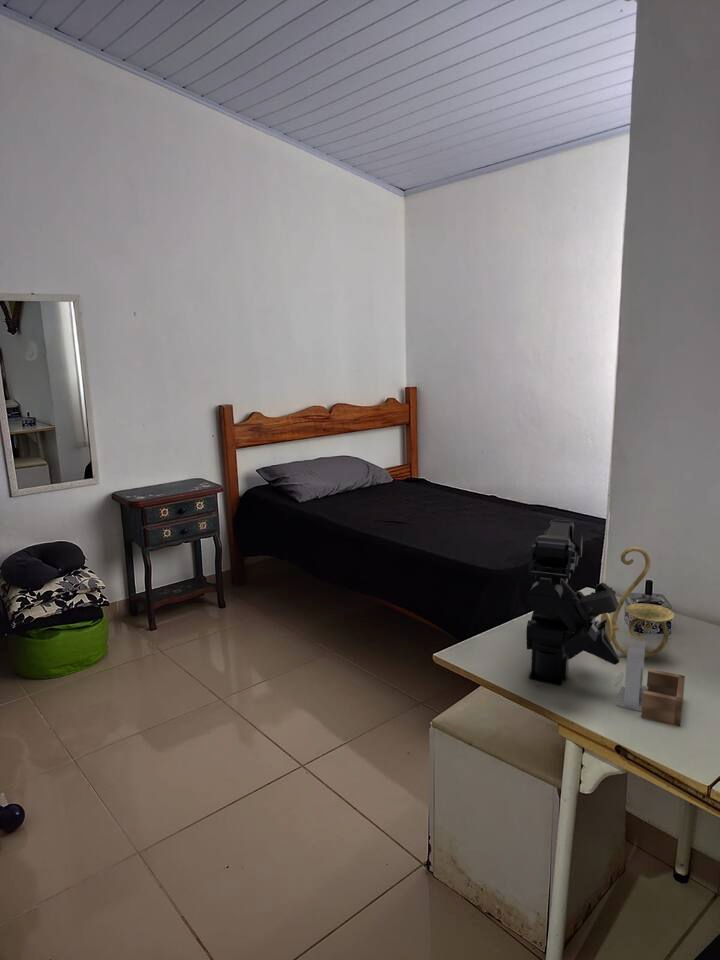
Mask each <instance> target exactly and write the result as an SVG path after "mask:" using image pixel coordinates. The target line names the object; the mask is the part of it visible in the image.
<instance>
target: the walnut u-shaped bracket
mask: <svg viewBox="0 0 720 960" xmlns="http://www.w3.org/2000/svg"><path fill="white" fill-rule="evenodd" d="M685 679H686V676H685V675H682V674H677V673H671V672H666V671H662V670H657V669H652V668H648V670H647V681H646V686H647V687H648V691H645V690H644V691H643V701H642V711H641V716H640V717H641V719H645V720H649V721H653V722H657V723H661V724H666V725H669V726H670V725H671V726H675V727H679V728H680V727H681V722H682V721H681V720H682V713H683V712H682V710H683V702H684V692H685Z"/></svg>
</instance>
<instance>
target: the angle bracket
mask: <svg viewBox="0 0 720 960" xmlns="http://www.w3.org/2000/svg"><path fill="white" fill-rule="evenodd" d="M627 651H628V652H627V655H626V665H625V681H624V686H620V689H619V692H618V696H617V699H616V707H621V708H624V709H625V708H626V709H629V710H632V711H638V712H642V701H643V691H644V690H645V691H648V687H647V685H643V684H644V683H643V680H644V666H645V658H644V655H645V653H646V641H640V640H635V639H631V640H630V642H629V646H628V648H627Z"/></svg>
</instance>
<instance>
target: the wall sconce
mask: <svg viewBox="0 0 720 960" xmlns="http://www.w3.org/2000/svg"><path fill="white" fill-rule="evenodd" d="M631 552H637V553H640V554H642V556H643V557H644V560H645V563H644V564H645V565H644V568H643V570H642V571H641V573H640V574H639V575H638V576H637V578H636V579H635V580H634V581H633V582H632V583H631V584H630V586H629V587H628V588H627V589H626V591H625V592H624V593H623V595H622V596H621V598H620V599H619V600H618V603H619V605H618V606H617V610H616V611H615V612H613V614H612V617H611V615H610V613H606V614H605V613H604V614H600V615H601V616H600V621H599V622H600V623H601V622H603V621H604V620H607V624H606V634H607V636H608V638H609V640H610V642H611V643H612V644H613V646H614V648H615V649H616V650H617V651H618V652H619V653H621V654H622V655H625V656H627V652H628V650H626V649H624V648H623V647H622V646H621V645H620V644H619V643H618V641H617V636H616V631H619V629H620V626H619V625H618V624H617V620H618V617H619V614H620V612H621V609H622V608H623V605H624V603H625V601H626V600H627V599H628V597H629V596H630V595H631V593H632V592H633V591H634V589H636V587H638V585H639V584H640V583H641V582H642V580H643V579H644V578H645V577H646V575H647V574H648V573H649V570H650V568H651V567H650V566H651V558H650V555H649V554H648V551H646V550H645V549H643V548H641V547H638V546H630V547H628V548H626V549H624V550H623V552H622V553H621V555H620V561H621V562H622V563H623V564H624V565H626V566H629V565H632V564H633V563H634V562H635V561H634V559H633V558H631V559H630V560H626V556H627V554H629V553H631ZM625 612H626V613H627V614H628V615H630V616H631V617H634V618H635V619H633V620H632V621H630V624H629V625H628V631H629V634H630V635H631V636H632V637H634V638H635V639H640V638H643V637H645V636H646V635H645V634H643V632H642V633H641V632H640V633H636V632H635V630H634V629H635V626H636V625H637V624H638V623H641V622H646V623H647V624H646V625H643V628H644V632H647V631H648V632H652V628H653V627H654V625H650V624H651V623H652V622H655V623H659V624H660V626H661V627H662V630H663V631H662V632H663V635H662V636H663V637H662V641H661V643H660V644H659V646H657V647H656V648H655V649H652V650H650V651H648V652H645V655H644V659H645V658H649V657H653V656H655V655H656V654H659V653H660V652H661V651H662V650H663V649H664V648H665V647H666V645H667V643H668V640H669V629H668V626H667V623H666V622H669V621H671V620H672V619H674V618H675V613H674V612H673V611H672V610H670V609H669V608H667V607H665V606H660V605H658V604H651V603H642V602H641V603H632V604H629V605H627V606H626V607H625Z"/></svg>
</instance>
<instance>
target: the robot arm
mask: <svg viewBox="0 0 720 960" xmlns="http://www.w3.org/2000/svg"><path fill="white" fill-rule="evenodd" d="M548 525H549V526H548V527H547V528H546V529H545V530H544V532H543V535H538V536H537V537H536V538H535V541H532V542H531V548H530V554H529V561H528V567H527V568H528V570H527V574H528V575H529V576H530V575H531V576H535V577H534V578H533V582H532V587H531V589H530V590H529V592H528V595H527V602H528V605H529V607H530V609H532V614H531V619H530V620H527V623H526V631H525V632H526V636H525V637H526V638H525V639H526V650H531V666H530V668H531V671H530V673H529V674H528V679H529V680H533V681H535V682H536V681H537V682H541V683H546V684H551V685H554V686H559V687H560V686H562V684H563V682H564V681H565V680H566V679H567V677H568V676H569V664H570V663H569V660H572V659H573V658H574V657H576V656H577V655H579V654H580V653H582V652H583V651H584V652H585V653H588V654H590V655H593V656H595V657H597V658H599V659H601V660H604V661H606V662H608V663H609V664H612V665H613V666H615V665H618V664H619V663H620V660H621V659H620V658H619V656H618V654H617V652H616V651H615V647H613V646H614V645H612V644H613V643H612V641H611V642H610V640H609V638H608V636H607V634H606V624H607V620H604V621H603V622H601V623H600V621H599V620H596V618H597V617H599V616H600V615H602V614H604V613H605V614H606V613H609V614H612V613H614V612H615V611H616V610H617V606H618V605H619V600H618V599H617V597H616V593H617V592H616V590H615V589H613V587H610V586H609V585H607V584H606V583H605V582H601V583H597V584H596V585H595V589H594V591H593V592H591V593H589V594H586V595H584V594H583V592H582V591H579V590H576V591H575V590H573V589H572V587H570V585H569V584H568V583H569V582H568V580H570V579H571V574H575V567H578V562H579V558H582V556H583V534H582V533H581V532H580V531H579V530H578V529H577V528H575V522H574V521H571V520H567V519H565V520H564V519H555V518H554V519H553V520H550V521H549V524H548Z"/></svg>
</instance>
